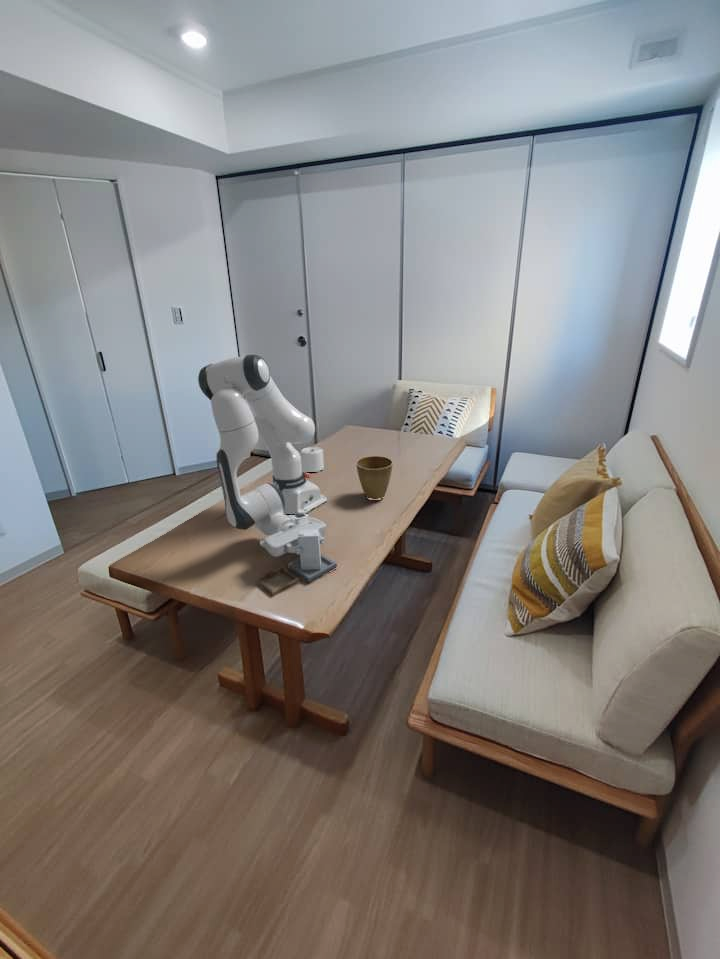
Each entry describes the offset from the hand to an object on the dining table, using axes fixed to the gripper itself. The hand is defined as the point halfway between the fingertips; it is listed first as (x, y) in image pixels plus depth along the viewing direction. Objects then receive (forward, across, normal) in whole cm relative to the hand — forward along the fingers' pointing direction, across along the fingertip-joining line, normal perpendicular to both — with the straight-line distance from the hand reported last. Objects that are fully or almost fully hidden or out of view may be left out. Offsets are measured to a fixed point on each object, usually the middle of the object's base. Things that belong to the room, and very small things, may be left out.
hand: (311, 546), depth 127 cm
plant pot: (-24, +51, +9) cm, 57 cm away
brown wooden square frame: (-3, -11, +9) cm, 14 cm away
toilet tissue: (-68, +52, +8) cm, 86 cm away
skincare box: (-1, 0, +8) cm, 8 cm away
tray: (-1, 0, +9) cm, 9 cm away
